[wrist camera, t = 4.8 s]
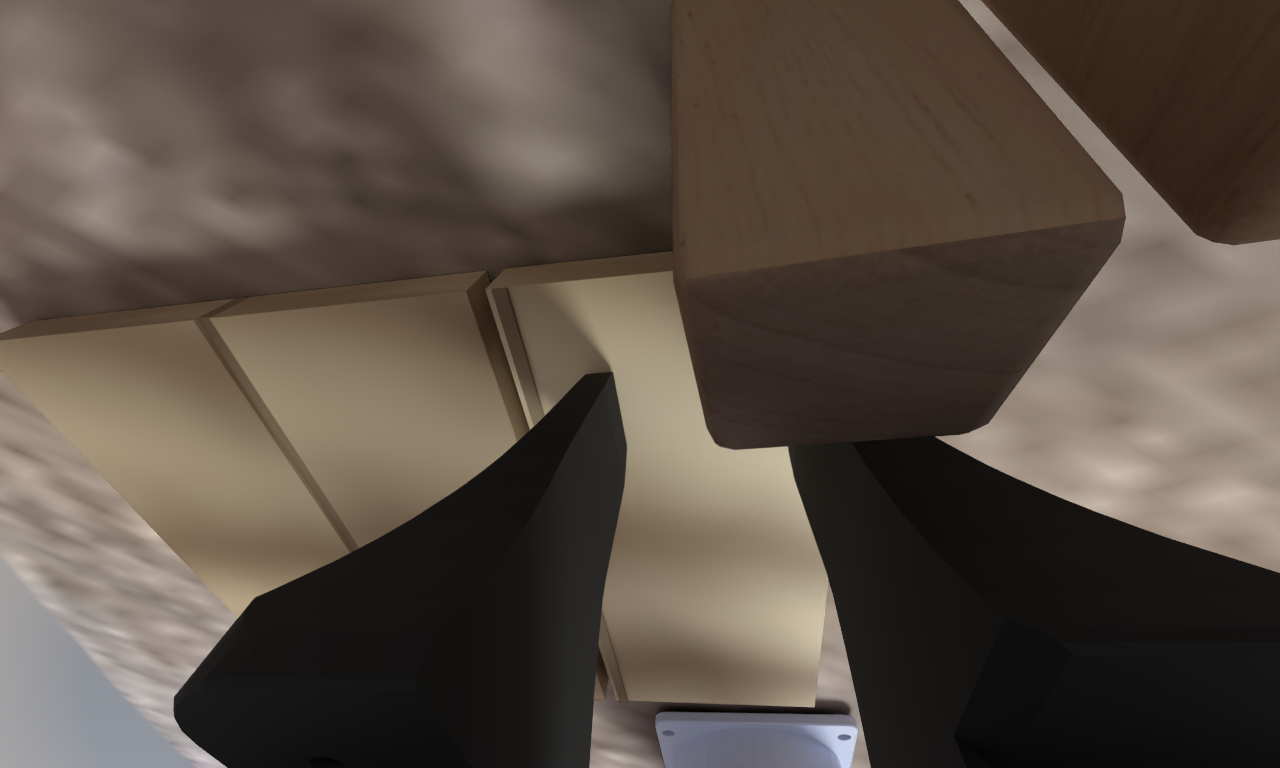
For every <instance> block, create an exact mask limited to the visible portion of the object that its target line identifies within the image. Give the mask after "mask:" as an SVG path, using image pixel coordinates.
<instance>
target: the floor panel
mask: <svg viewBox="0 0 1280 768" xmlns="http://www.w3.org/2000/svg"><path fill="white" fill-rule="evenodd" d="M490 284H491V283H490V280H489V277H488V273H487V271H478V272H469V273H460V274H451V275H442V276H433V277H424V278H415V279H406V280H397V281H388V282H379V283H370V284H361V285H352V286H343V287H334V288H325V289H316V290H307V291H298V292H289V293H280V294H271V295H262V296H253V297H244V298H235V299H226V300H217V301H208V302H199V303H190V304H181V305H172V306H163V307H154V308H145V309H136V310H127V311H118V312H109V313H100V314H91V315H82V316H73V317H63V318H54V319H45V320H36V321H31V322H29V323H26V324H24V325H21V326H18V327H16V328H13V329H11V330H8V331H5V332H3V333H0V370H1V371H2V372H3V373H4V374H5V375H6V376H7V377H8V378H9V380H10V381H11V382H12V383H13V384H14V385H15V386H16V387H17V388H18V389H19V390H20V391H21V392H22V393H23V394H24V395H25V396H26V397H27V398H28V399H29V400H30V401H31V402H32V404H33V405H34V406H35V407H36V408H37V409H38V410H39V411H40V412H41V413H42V414H43V415H44V416H45V417H46V418H47V419H48V420H49V421H50V422H51V423H52V424H53V425H54V426H55V428H56V429H57V430H58V431H59V432H60V433H61V434H62V435H63V436H64V437H65V438H66V439H67V440H68V441H69V442H70V443H71V444H72V445H73V446H74V447H75V448H76V449H77V450H78V452H79V453H80V454H81V455H82V456H83V457H84V458H85V459H86V460H87V461H88V462H89V463H90V464H91V465H92V466H93V467H94V468H95V469H96V470H97V471H98V472H99V473H100V474H101V476H102V477H103V478H104V479H105V480H106V481H107V482H108V483H109V484H110V485H111V486H112V487H113V488H114V489H115V490H116V491H117V492H118V493H119V494H120V495H121V496H122V497H123V498H124V500H125V501H126V502H127V503H128V504H129V505H130V506H131V507H132V508H133V509H134V510H135V511H136V512H137V513H138V514H139V515H140V516H141V517H142V518H143V519H144V520H145V521H146V522H147V524H148V525H149V526H150V527H151V528H152V529H153V530H154V531H155V532H156V533H157V534H158V535H159V536H160V537H161V538H162V539H163V540H164V541H165V542H166V543H167V544H168V545H169V546H170V548H171V549H172V550H173V551H174V552H175V553H176V554H177V555H178V556H179V557H180V558H181V559H182V560H183V561H184V562H185V563H186V564H187V565H188V566H189V567H190V568H191V569H192V570H193V572H194V573H195V574H196V575H197V576H198V577H199V578H200V579H201V580H202V581H203V582H204V583H205V584H206V585H207V586H208V587H209V588H210V589H211V590H212V591H213V592H214V593H215V594H216V596H217V597H218V598H219V599H220V600H221V601H222V602H223V603H224V604H225V605H226V606H227V607H228V608H229V609H230V610H231V611H232V612H233V613H234V614H235V615H236V616H237V617H239V616H240V615H241V614H242V613H243V611H244V610H245V609H246V608H247V606H248V605H249V604H250V603H251V601H252V600H253V599H254V598H255V597H257V596H259V595H262V594H264V593H266V592H269V591H271V590H273V589H275V588H277V587H280V586H282V585H284V584H286V583H288V582H290V581H293V580H295V579H297V578H299V577H301V576H303V575H305V574H308V573H310V572H312V571H314V570H316V569H318V568H320V567H323V566H325V565H327V564H329V563H331V562H333V561H335V560H337V559H339V558H341V557H343V556H345V555H347V554H349V553H351V552H353V551H355V550H357V549H359V548H361V547H362V546H364V545H366V544H368V543H370V542H372V541H374V540H376V539H377V538H379V537H381V536H383V535H385V534H386V533H388V532H390V531H392V530H393V529H395V528H397V527H399V526H400V525H402V524H404V523H406V522H407V521H409V520H411V519H412V518H414V517H416V516H417V515H419V514H420V513H422V512H423V511H425V510H426V509H428V508H429V507H431V506H433V505H434V504H436V503H437V502H439V501H440V500H442V499H443V498H445V497H447V496H448V495H450V494H451V493H453V492H454V491H456V490H457V489H459V488H460V487H461V486H463V485H464V484H466V483H467V482H468V481H470V480H471V479H472V478H474V477H475V476H476V475H478V474H479V473H480V472H482V471H483V470H484V469H486V468H487V467H488V466H489V465H491V464H492V463H493V462H494V461H496V460H497V459H498V458H499V457H500V456H502V455H503V454H504V453H505V452H506V451H507V450H509V449H510V448H511V447H512V446H513V445H514V444H515V443H516V442H517V441H518V440H520V439H521V438H522V437H523V436H524V435H525V434H526V433H527V432H528V431H529V430H530V428H529V425H528V422H527V419H526V416H525V413H524V410H523V406H522V403H521V400H520V397H519V394H518V391H517V388H516V385H515V381H514V378H513V375H512V372H511V369H510V366H509V363H508V359H507V356H506V353H505V350H504V347H503V344H502V341H501V337H500V334H499V331H498V328H497V325H496V322H495V319H494V315H493V312H492V309H491V306H490V303H489V300H488V297H487V293H486V290H485V289H486V288H487V287H488V286H489V285H490ZM607 684H608V673H607V670H606V667H605V664H604V661H603V658H602V654H601V651H600V648H599V645H598V655H597V667H596V678H595V690H594V700H606V692H607Z"/></svg>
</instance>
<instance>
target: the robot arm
mask: <svg viewBox="0 0 1280 768" xmlns="http://www.w3.org/2000/svg"><path fill="white" fill-rule="evenodd" d="M788 451H789V456H790V461H791V466H792V471H793V476H794V479H795V482H796V486H797V489H798V491H799V494H800V497H801V500H802V503H803V506H804V509H805V512H806V515H807V518H808V521H809V524H810V526H811V529H812V532H813V535H814V538H815V541H816V544H817V547H818V550H819V552H820V555H821V558H822V561H823V564H824V567H825V570H826V573H827V576H828V580H829V583H830V586H831V590H832V593H833V597H834V601H835V605H836V609H837V614H838V618H839V622H840V627H841V631H842V635H843V639H844V644H845V648H846V652H847V657H848V662H849V666H850V671H851V675H852V680H853V684H854V689H855V693H856V698H857V702H858V707H859V712H860V717H861V722H862V726H863V731H864V736H865V741H866V746H867V750H868V755H869V760H870V765H871V768H1280V573H1278V572H1275V571H1271V570H1268V569H1265V568H1262V567H1259V566H1255V565H1252V564H1249V563H1246V562H1243V561H1239V560H1236V559H1233V558H1230V557H1227V556H1223V555H1220V554H1217V553H1214V552H1211V551H1208V550H1204V549H1201V548H1198V547H1195V546H1192V545H1188V544H1185V543H1182V542H1179V541H1176V540H1172V539H1169V538H1167V537H1164V536H1161V535H1158V534H1155V533H1152V532H1149V531H1147V530H1144V529H1141V528H1138V527H1136V526H1133V525H1130V524H1127V523H1125V522H1122V521H1119V520H1116V519H1114V518H1111V517H1108V516H1106V515H1103V514H1100V513H1097V512H1095V511H1092V510H1090V509H1087V508H1085V507H1082V506H1080V505H1077V504H1075V503H1072V502H1069V501H1067V500H1064V499H1062V498H1059V497H1057V496H1055V495H1052V494H1050V493H1048V492H1046V491H1043V490H1041V489H1039V488H1036V487H1034V486H1032V485H1030V484H1027V483H1025V482H1023V481H1020V480H1018V479H1016V478H1014V477H1011V476H1009V475H1007V474H1005V473H1003V472H1001V471H999V470H997V469H994V468H992V467H990V466H988V465H986V464H984V463H982V462H980V461H978V460H977V459H975V458H973V457H971V456H969V455H967V454H965V453H963V452H961V451H959V450H958V449H956V448H954V447H952V446H950V445H948V444H946V443H945V442H943V441H941V440H939V439H938V438H936V437H934V436H933V437H918V438H903V439H889V440H874V441H860V442H845V443H830V444H816V445H801V446H788ZM626 458H627V442H626V437H625V432H624V427H623V421H622V416H621V411H620V406H619V400H618V395H617V390H616V385H615V379H614V374H613V372H606V373H593V374H585V375H584V376H583V377H582V378H581V379H580V380H579V381H578V382H577V383H576V384H575V385H574V386H573V387H572V388H571V389H570V390H569V391H568V392H567V393H566V394H565V395H564V397H563V398H562V399H561V400H560V401H559V402H558V403H557V404H556V405H555V406H554V407H553V408H552V409H551V410H550V411H549V412H548V413H547V414H546V415H545V416H544V417H543V418H542V419H541V420H540V421H539V422H538V423H537V424H536V425H535V426H534V427H533V428H532V429H531V430H529V431H528V432H527V433H526V434H525V435H524V436H523V437H522V438H521V439H520V440H518V441H517V442H516V443H515V444H514V445H513V446H512V447H511V448H510V449H509V450H507V451H506V452H505V453H504V454H503V455H502V456H500V457H499V458H498V459H497V460H496V461H494V462H493V463H492V464H491V465H489V466H488V467H487V468H486V469H484V470H483V471H482V472H480V473H479V474H478V475H476V476H475V477H474V478H472V479H471V480H470V481H468V482H467V483H466V484H464V485H463V486H461V487H460V488H459V489H457V490H456V491H454V492H453V493H451V494H450V495H448V496H447V497H445V498H443V499H442V500H440V501H439V502H437V503H436V504H434V505H433V506H431V507H429V508H428V509H426V510H425V511H423V512H422V513H420V514H419V515H417V516H416V517H414V518H412V519H411V520H409V521H407V522H406V523H404V524H402V525H400V526H399V527H397V528H395V529H393V530H392V531H390V532H388V533H386V534H385V535H383V536H381V537H379V538H377V539H376V540H374V541H372V542H370V543H368V544H366V545H364V546H362V547H361V548H359V549H357V550H355V551H353V552H351V553H349V554H347V555H345V556H343V557H341V558H339V559H337V560H335V561H333V562H331V563H329V564H327V565H325V566H323V567H320V568H318V569H316V570H314V571H312V572H310V573H308V574H305V575H303V576H301V577H299V578H297V579H295V580H293V581H290V582H288V583H286V584H284V585H282V586H280V587H277V588H275V589H273V590H271V591H269V592H266V593H264V594H262V595H259V596H257V597H255V598H254V599H253V600H252V601H251V603H250V604H249V605H248V606H247V608H246V609H245V610H244V611H243V613H242V614H241V615H240V616H239V617H238V619H237V620H236V621H235V622H234V624H233V625H232V626H231V627H230V629H229V630H228V631H227V632H226V634H225V635H224V636H223V637H222V638H221V640H220V641H219V642H218V643H217V645H216V646H215V647H214V648H213V650H212V651H211V652H210V653H209V655H208V656H207V657H206V658H205V659H204V661H203V662H202V663H201V664H200V666H199V667H198V668H197V669H196V671H195V672H194V673H193V674H192V675H191V677H190V678H189V679H188V680H187V682H186V683H185V684H184V685H183V687H182V688H181V689H180V690H179V692H178V693H177V694H176V695H175V696H174V709H173V710H174V717H175V720H176V721H177V723H178V725H179V727H180V728H181V730H182V732H184V733H185V734H186V735H187V736H188V737H189V738H190V739H191V740H192V741H193V742H195V743H196V744H197V745H198V746H199V747H201V748H202V749H203V750H205V751H206V752H207V753H209V754H210V755H211V756H213V757H214V758H215V759H217V760H218V761H219V762H221V763H222V764H223V765H225V766H226V767H227V768H589V761H590V747H591V732H592V718H593V703H594V690H595V678H596V667H597V655H598V643H599V633H600V623H601V613H602V603H603V595H604V588H605V582H606V576H607V571H608V566H609V561H610V556H611V551H612V546H613V542H614V537H615V532H616V527H617V522H618V517H619V512H620V507H621V502H622V497H623V491H624V486H625V474H626ZM655 727H656V731H657V735H658V739H659V743H660V747H661V751H662V755H663V759H664V763H665V767H666V768H850V767H851V763H852V758H853V753H854V748H855V744H856V739H857V734H858V727H857V723H856V719H854V718H853V717H852V716H849V715H835V714H776V713H718V712H661V713H659V714H657V715H656V720H655Z"/></svg>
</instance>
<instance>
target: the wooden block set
mask: <svg viewBox="0 0 1280 768" xmlns="http://www.w3.org/2000/svg"><path fill="white" fill-rule="evenodd" d="M982 2H983V3H984V4H985V5H986V6H987V7H988V8H989V9H990V10H991V11H992V12H993V14H994V15H995V16H996V17H997V18H998V19H999V20H1000V21H1001V22H1002V23H1003V25H1004V26H1005V27H1006V28H1007V29H1008V30H1009V31H1010V32H1011V33H1012V34H1013V35H1014V37H1015V38H1016V39H1017V40H1018V41H1019V42H1020V43H1021V44H1022V45H1023V46H1024V47H1025V49H1026V50H1027V51H1028V52H1029V53H1030V54H1031V55H1032V56H1033V57H1034V58H1035V59H1036V61H1037V62H1038V63H1039V64H1040V65H1041V66H1042V67H1043V68H1044V69H1045V70H1046V71H1047V73H1048V74H1049V75H1050V76H1051V77H1052V78H1053V79H1054V80H1055V81H1056V82H1057V83H1058V85H1059V86H1060V87H1061V88H1062V89H1063V90H1064V91H1065V92H1066V93H1067V94H1068V95H1069V97H1070V98H1071V99H1072V100H1073V101H1074V102H1075V103H1076V104H1077V105H1078V106H1079V107H1080V109H1081V110H1082V111H1083V112H1084V113H1085V114H1086V115H1087V116H1088V117H1089V118H1090V119H1091V121H1092V122H1093V123H1094V124H1095V125H1096V126H1097V127H1098V128H1099V129H1100V130H1101V131H1102V133H1103V134H1104V135H1105V136H1106V137H1107V138H1108V139H1109V140H1110V141H1111V142H1112V143H1113V145H1114V146H1115V147H1116V148H1117V149H1118V150H1119V151H1120V152H1121V153H1122V154H1123V155H1124V157H1125V158H1126V159H1127V160H1128V161H1129V162H1130V163H1131V164H1132V165H1133V166H1134V167H1135V169H1136V170H1137V171H1138V172H1139V173H1140V174H1141V175H1142V176H1143V177H1144V178H1145V179H1146V181H1147V182H1148V183H1149V184H1150V185H1151V186H1152V187H1153V188H1154V189H1155V190H1156V191H1157V193H1158V194H1159V195H1160V196H1161V197H1162V198H1163V199H1164V200H1165V201H1166V202H1167V203H1168V205H1169V206H1170V207H1171V208H1172V209H1173V210H1174V211H1175V212H1176V213H1177V214H1178V215H1179V217H1180V218H1181V219H1182V220H1183V221H1184V222H1185V223H1186V224H1187V225H1188V226H1189V227H1190V229H1191V230H1192V231H1193V232H1194V233H1195V234H1196V235H1198V236H1201V237H1203V238H1205V239H1208V240H1210V241H1212V242H1216V243H1223V244H1230V245H1238V244H1246V243H1254V242H1261V241H1269V240H1277V239H1280V0H982ZM671 76H672V199H673V283H674V287H675V292H676V296H677V300H678V305H679V309H680V314H681V318H682V322H683V327H684V331H685V336H686V340H687V344H688V349H689V353H690V357H691V362H692V366H693V371H694V375H695V379H696V384H697V388H698V392H699V397H700V401H701V406H702V410H703V414H704V419H705V423H706V428H707V429H708V431H709V433H710V435H711V437H712V439H713V441H714V442H715V444H717V445H718V446H719V447H723V448H728V449H732V450H743V449H758V448H772V447H787V446H801V445H816V444H830V443H845V442H860V441H874V440H889V439H903V438H918V437H933V436H947V435H960V434H965V433H969V432H971V431H973V430H975V429H977V428H980V427H982V426H984V425H986V424H988V423H989V422H990V420H991V419H992V418H993V416H994V415H995V414H996V412H997V411H998V410H999V408H1000V407H1001V405H1002V404H1003V403H1004V401H1005V400H1006V399H1007V397H1008V396H1009V394H1010V393H1011V392H1012V390H1013V389H1014V388H1015V386H1016V385H1017V384H1018V382H1019V381H1020V379H1021V378H1022V377H1023V375H1024V374H1025V373H1026V371H1027V370H1028V368H1029V367H1030V366H1031V364H1032V363H1033V362H1034V360H1035V359H1036V357H1037V356H1038V355H1039V353H1040V352H1041V351H1042V349H1043V348H1044V347H1045V345H1046V344H1047V342H1048V341H1049V340H1050V338H1051V337H1052V336H1053V334H1054V333H1055V331H1056V330H1057V329H1058V327H1059V326H1060V325H1061V323H1062V322H1063V320H1064V319H1065V318H1066V316H1067V315H1068V314H1069V312H1070V311H1071V310H1072V308H1073V307H1074V305H1075V304H1076V303H1077V301H1078V300H1079V299H1080V297H1081V296H1082V294H1083V293H1084V292H1085V290H1086V289H1087V288H1088V286H1089V285H1090V284H1091V282H1092V281H1093V279H1094V278H1095V277H1096V275H1097V274H1098V273H1099V271H1100V270H1101V268H1102V267H1103V266H1104V264H1105V263H1106V262H1107V260H1108V259H1109V257H1110V256H1111V255H1112V253H1113V252H1114V251H1115V249H1116V248H1117V247H1118V245H1119V244H1120V242H1121V238H1122V233H1123V228H1124V223H1125V219H1126V215H1125V209H1124V202H1123V195H1122V193H1121V192H1120V191H1119V189H1118V188H1117V187H1116V186H1115V185H1114V184H1113V182H1112V181H1111V180H1110V179H1109V178H1108V176H1107V175H1106V174H1105V173H1104V172H1103V171H1102V169H1101V168H1100V167H1099V166H1098V165H1097V163H1096V162H1095V161H1094V160H1093V159H1092V158H1091V156H1090V155H1089V154H1088V153H1087V152H1086V151H1085V149H1084V148H1083V147H1082V146H1081V145H1080V143H1079V142H1078V141H1077V140H1076V139H1075V138H1074V136H1073V135H1072V134H1071V133H1070V132H1069V130H1068V129H1067V128H1066V127H1065V126H1064V125H1063V123H1062V122H1061V121H1060V120H1059V119H1058V118H1057V116H1056V115H1055V114H1054V113H1053V112H1052V110H1051V109H1050V108H1049V107H1048V106H1047V105H1046V103H1045V102H1044V101H1043V100H1042V99H1041V97H1040V96H1039V95H1038V94H1037V93H1036V92H1035V90H1034V89H1033V88H1032V87H1031V86H1030V84H1029V83H1028V82H1027V81H1026V80H1025V79H1024V77H1023V76H1022V75H1021V74H1020V73H1019V72H1018V70H1017V69H1016V68H1015V67H1014V66H1013V64H1012V63H1011V62H1010V61H1009V60H1008V59H1007V57H1006V56H1005V55H1004V54H1003V53H1002V51H1001V50H1000V49H999V48H998V47H997V46H996V44H995V43H994V42H993V41H992V40H991V39H990V37H989V36H988V35H987V34H986V33H985V31H984V30H983V29H982V28H981V27H980V26H979V24H978V23H977V22H976V21H975V20H974V18H973V17H972V16H971V15H970V14H969V13H968V11H967V10H966V9H965V8H964V7H963V6H962V4H961V3H960V2H959V1H958V0H672V5H671Z"/></svg>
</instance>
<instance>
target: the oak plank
mask: <svg viewBox="0 0 1280 768" xmlns="http://www.w3.org/2000/svg"><path fill="white" fill-rule="evenodd" d="M485 290H486V293H487V297H488V300H489V303H490V306H491V309H492V312H493V315H494V319H495V322H496V325H497V328H498V331H499V334H500V337H501V341H502V344H503V347H504V350H505V353H506V356H507V359H508V363H509V366H510V369H511V372H512V375H513V378H514V381H515V385H516V388H517V391H518V394H519V397H520V400H521V403H522V406H523V410H524V413H525V416H526V419H527V422H528V425H529V428H530V430H531V429H532V428H533V427H534V426H535V425H536V424H537V423H538V422H539V421H540V420H541V419H542V418H543V417H544V416H545V415H546V414H547V413H548V412H549V411H550V410H551V409H552V408H553V407H554V406H555V405H556V404H557V403H558V402H559V401H560V400H561V399H562V398H563V397H564V395H565V394H566V393H567V392H568V391H569V390H570V389H571V388H572V387H573V386H574V385H575V384H576V383H577V382H578V381H579V380H580V379H581V378H582V377H583V376H584V375H585V374H593V373H606V372H613V374H614V379H615V385H616V390H617V395H618V400H619V406H620V411H621V416H622V421H623V427H624V432H625V437H626V442H627V458H626V474H625V486H624V491H623V497H622V502H621V507H620V512H619V517H618V522H617V527H616V532H615V537H614V542H613V546H612V551H611V556H610V561H609V566H608V571H607V576H606V582H605V588H604V595H603V603H602V613H601V623H600V633H599V643H598V645H599V648H600V651H601V654H602V658H603V661H604V664H605V667H606V670H607V673H608V676H609V680H610V683H611V686H612V689H613V692H614V695H615V698H616V700H619V701H620V702H622V703H628V701H652V702H680V703H708V704H736V705H764V706H793V707H815V699H816V689H817V680H818V671H819V661H820V652H821V643H822V633H823V624H824V615H825V605H826V596H827V587H828V576H827V573H826V570H825V567H824V564H823V561H822V558H821V555H820V552H819V550H818V547H817V544H816V541H815V538H814V535H813V532H812V529H811V526H810V524H809V521H808V518H807V515H806V512H805V509H804V506H803V503H802V500H801V497H800V494H799V491H798V489H797V486H796V482H795V479H794V476H793V471H792V466H791V461H790V456H789V451H788V446H787V447H772V448H758V449H743V450H732V449H728V448H723V447H719V446H718V445H717V444H715V442H714V441H713V439H712V437H711V435H710V433H709V431H708V429H707V428H706V423H705V419H704V414H703V410H702V406H701V401H700V397H699V392H698V388H697V384H696V379H695V375H694V371H693V366H692V362H691V357H690V353H689V349H688V344H687V340H686V336H685V331H684V327H683V322H682V318H681V314H680V309H679V305H678V300H677V296H676V292H675V287H674V283H673V251H668V252H658V253H649V254H639V255H630V256H620V257H611V258H601V259H591V260H582V261H572V262H563V263H553V264H544V265H534V266H525V267H515V268H505V269H504V270H503V271H502V272H501V273H500V274H499V275H498V277H497V278H496V279H495V280H494V281H493V282H492V283H491V284H490V285H489V286H488V287H487V288H486V289H485Z"/></svg>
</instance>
